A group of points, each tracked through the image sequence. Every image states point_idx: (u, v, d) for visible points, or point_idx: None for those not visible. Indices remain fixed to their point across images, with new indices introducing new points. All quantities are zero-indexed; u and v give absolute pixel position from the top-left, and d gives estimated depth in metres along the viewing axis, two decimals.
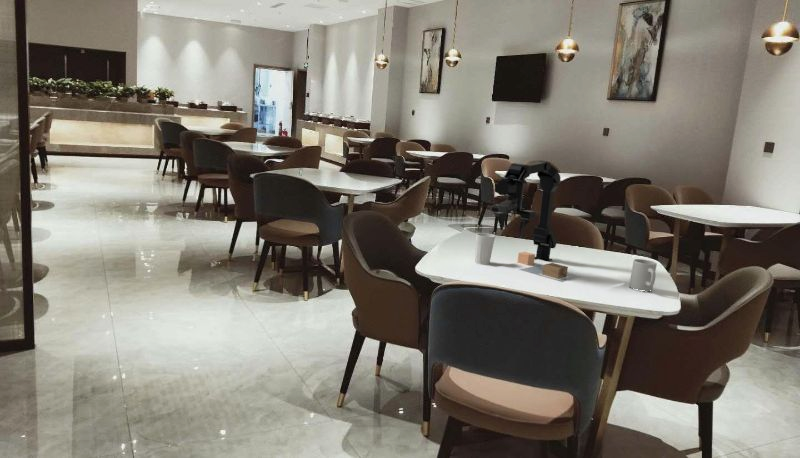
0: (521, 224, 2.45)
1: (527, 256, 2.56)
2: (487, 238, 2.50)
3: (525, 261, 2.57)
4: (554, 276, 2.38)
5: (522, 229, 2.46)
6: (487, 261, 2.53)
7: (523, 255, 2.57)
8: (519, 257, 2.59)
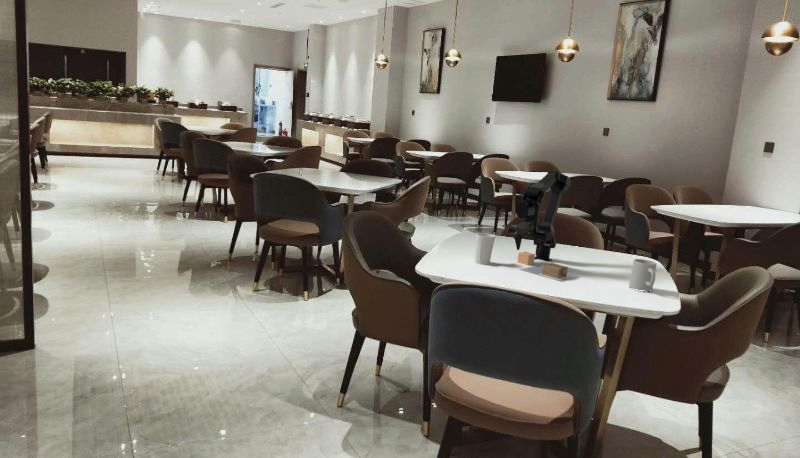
0: (537, 245, 2.54)
1: (527, 256, 2.56)
2: (487, 238, 2.50)
3: (525, 261, 2.57)
4: (554, 276, 2.38)
5: (538, 250, 2.55)
6: (487, 261, 2.53)
7: (523, 255, 2.57)
8: (519, 257, 2.59)
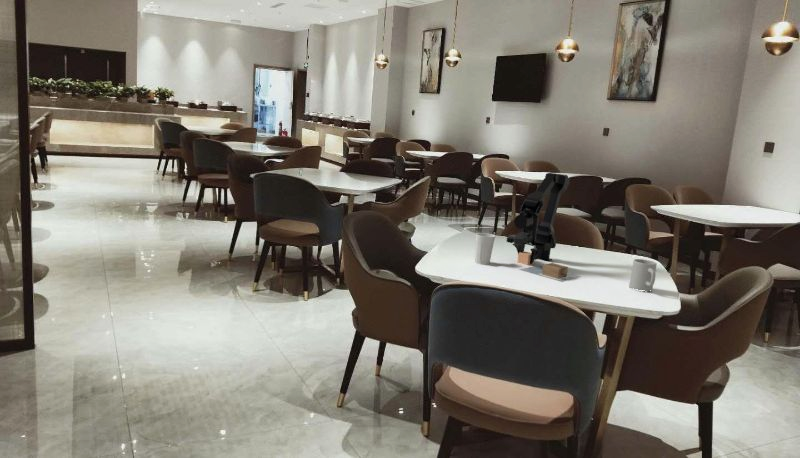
0: (532, 254, 2.56)
1: (527, 256, 2.56)
2: (487, 238, 2.50)
3: (525, 261, 2.57)
4: (554, 276, 2.38)
5: (533, 259, 2.57)
6: (487, 261, 2.53)
7: (523, 255, 2.57)
8: (519, 256, 2.59)
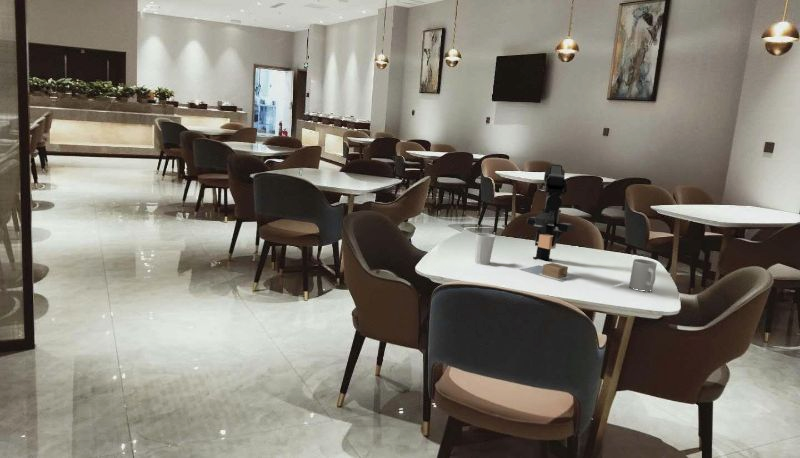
0: (553, 236, 2.42)
1: (548, 238, 2.42)
2: (487, 238, 2.50)
3: (546, 243, 2.43)
4: (554, 276, 2.38)
5: (555, 241, 2.43)
6: (487, 261, 2.53)
7: (544, 237, 2.44)
8: (540, 239, 2.45)
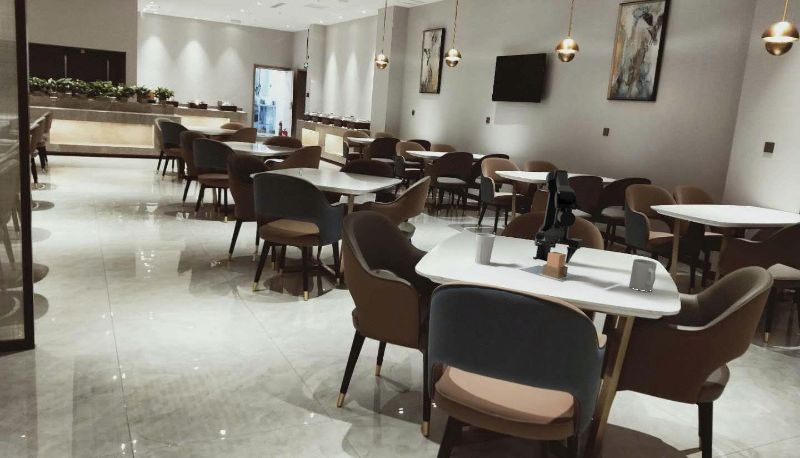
0: (568, 253, 2.36)
1: (558, 256, 2.38)
2: (487, 238, 2.50)
3: (556, 261, 2.39)
4: (554, 276, 2.38)
5: (569, 258, 2.37)
6: (487, 261, 2.53)
7: (553, 255, 2.39)
8: (549, 257, 2.41)
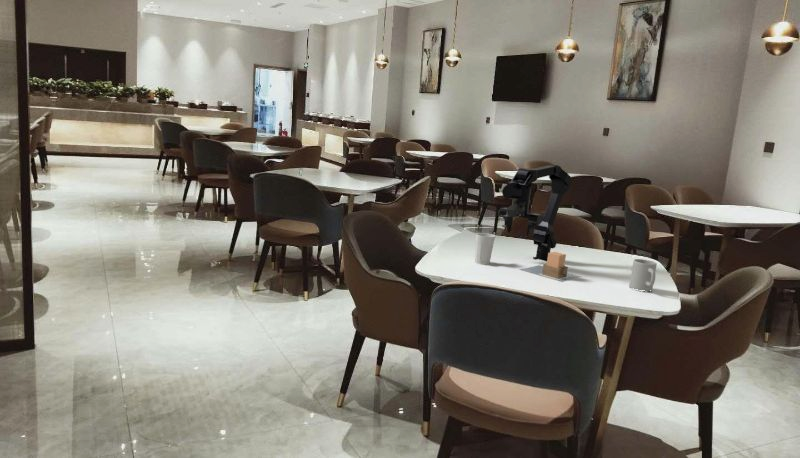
0: (528, 227, 2.54)
1: (558, 256, 2.38)
2: (487, 238, 2.50)
3: (556, 261, 2.39)
4: (554, 276, 2.38)
5: (529, 232, 2.55)
6: (487, 261, 2.53)
7: (553, 255, 2.39)
8: (549, 257, 2.41)
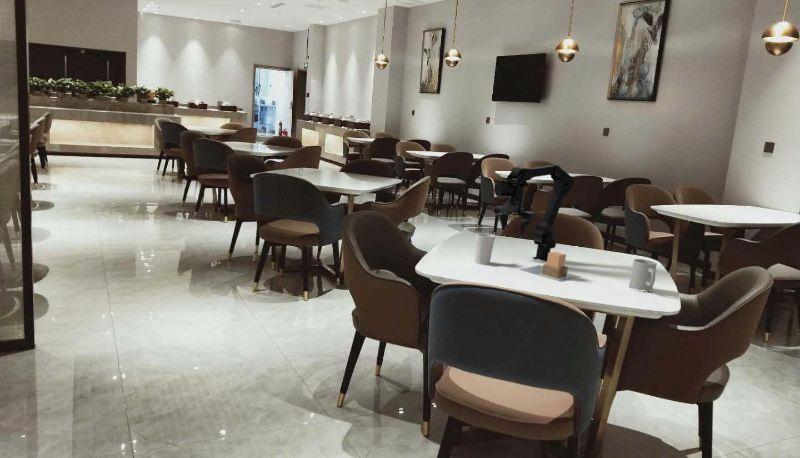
0: (522, 225, 2.57)
1: (558, 256, 2.38)
2: (487, 238, 2.50)
3: (556, 261, 2.39)
4: (554, 276, 2.38)
5: (523, 230, 2.58)
6: (487, 261, 2.53)
7: (553, 255, 2.39)
8: (549, 257, 2.41)
